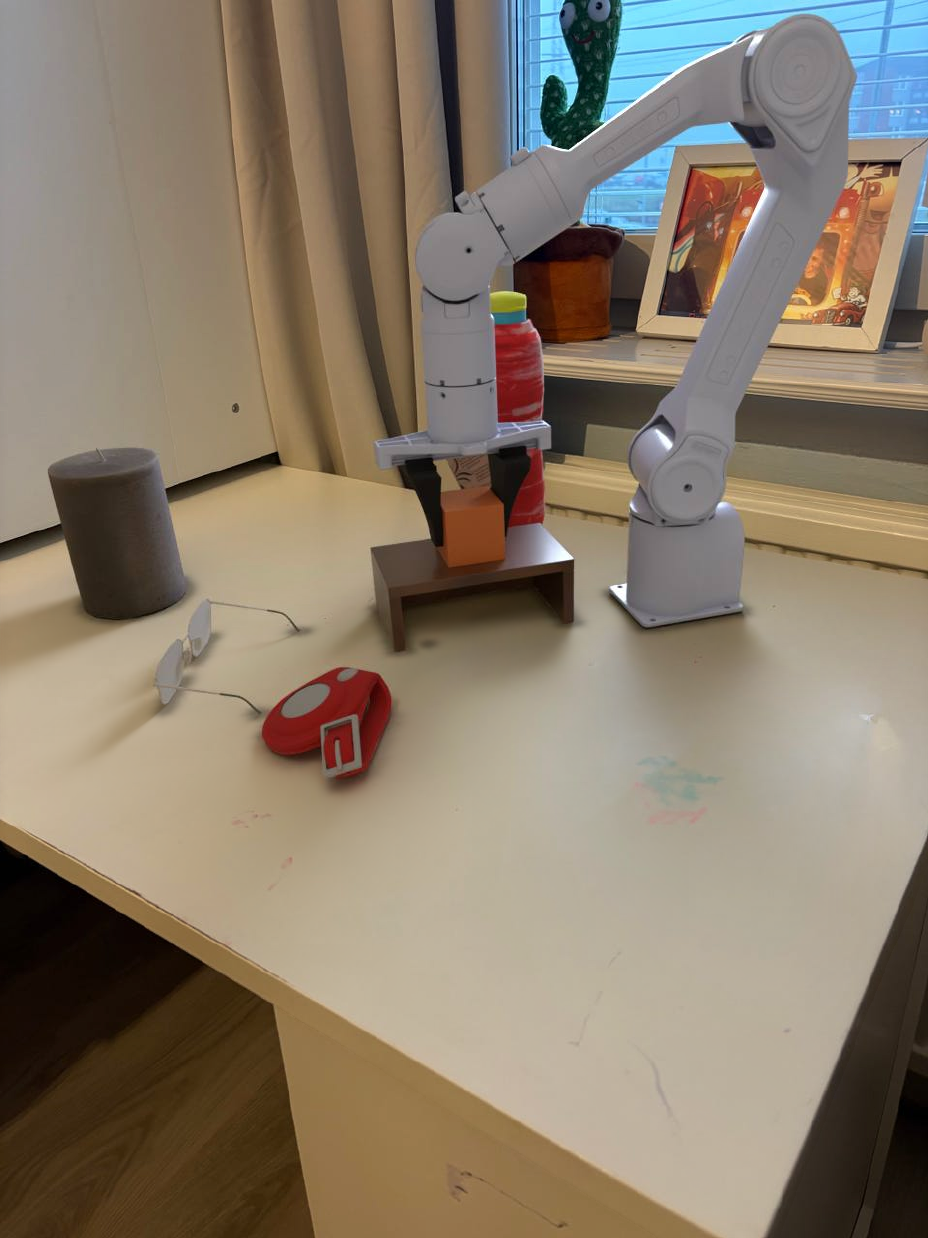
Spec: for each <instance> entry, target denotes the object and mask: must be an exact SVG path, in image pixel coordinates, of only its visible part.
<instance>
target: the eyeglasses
mask: <svg viewBox="0 0 928 1238" xmlns="http://www.w3.org/2000/svg"><path fill="white" fill-rule="evenodd" d="M211 605H221V606H229V607H236V608H243V609H250V610H258V611H265V612H269V613H275V614H280V615H282V616H284V617H285V619H287V620H288V621H289V623H290V624H291V625H292V627H293V628H294V629H295V631H296V632H297V633H299V632H301V629H300V628H298V626H297V625H296V624H295V623H294V621H293V620H292V619H291V618H290V617H289V615H287V614H286V613H284V612H282V611H279V610H274V609H265V608H259V607H253V606H245V605H240V604H234V603H229V602H221V601H213V600H210V599H209V598H205V599H204V600H203V601H202V602H201V603H200V604H199V605H198V607H197V608H196V609H195V611H194V612H193V614H192V615H191V616H190V619H189V623H188V626H187V634H186V635H185V637H184V638H183V640H182V639H181V638H177V639H175V640H174V641H173V642H172V643H171V644H170V645H169V647H168V648H167V649H166V651H165V652H164V654H163V655H162V657H161V659H160V661H159V663H158V665H157V667H156V671H155V678H154V679H153V680H152V685H153V687H155V688H157V692H158V695H159V698H160V699H159V700H160V701H161V704H163V705H167V704H168V703H169V702H171V699H172V698H173V697H174V695H175V693H176V692H177V690H179V691H186V692H195V693H202V694H209V695H217V696H223V697H229V698H237V699H240V700H242V701H244V702H245V703H247V705H248V706H249V707H250V708H252V709H253V710H254V711H255V712H256V714H259V715H261V714H262V712H261V711H260V710H258V708H256V706H255V705H253V704H252V703H251V702H250V701H249V700H248V699H247V698H245V697H243V696H241V695H237V694H232V693H224V692H215V691H208V690H202V689H197V688H189V687H183V686H180V684H181V683H182V680H183V674H184V661H185V658H186V665H187V666H189V665H191V662H192V655H193V656H194V657H195V658H196V657H198V656H199V655H201V653H202V652H203V651H204V649H205V648H206V645H207V644H208V642H209V640H210V637H211V633H212V609H211ZM187 639H188V641H189V647H190V648H187V649H186V650H184V643H185V642H186V640H187Z"/></svg>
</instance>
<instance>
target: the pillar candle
mask: <svg viewBox="0 0 928 1238" xmlns="http://www.w3.org/2000/svg"><path fill="white" fill-rule="evenodd" d="M47 475H48V480H49V484H50V487H51V491H52V495H53V499H54V503H55V507H56V510H57V514H58V518H59V523H60V525H61V529H62V532H63V536H64V540H65V545H66V549H67V551H68V555H69V559H70V563H71V566H72V570H73V574H74V578H75V582H76V585H77V587H78V592H79V595H80V598H81V602H82V605H83V608H84V610H85V612H86V613H87V614H89V615H91V616H94V617H97V618H103V619H110V620H111V619H114V620H119V619H122V620H123V619H124V620H126V619H127V620H128V619H133V618H136V617H141V616H145V615H149V614H152V613H155V612H158V611H161V610H163V609H165V608H168V607H170V606H173V605H174V604H175V603H177V602H178V601H179V600H180V599H182V597H183V596H184V595H185V594H186V591H187V584H186V578H185V574H184V570H183V564H182V560H181V556H180V552H179V547H178V543H177V536H176V533H175V528H174V523H173V519H172V514H171V509H170V505H169V500H168V496H167V492H166V486H165V483H164V479H163V473H162V469H161V463H160V459H159V452H158V451H156V450H154V449H148V448H144V447H133V446H132V447H112V448H102V449H99V447H96V448H95V449H91V450H88V451H84V452H82V453H77V454H74V455H71V456H67V457H65V458H62V459H59V460H58V461H56V462H54V463H52V464H50V465H49V466H48V468H47Z"/></svg>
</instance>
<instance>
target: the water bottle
mask: <svg viewBox="0 0 928 1238" xmlns="http://www.w3.org/2000/svg"><path fill="white" fill-rule="evenodd" d="M490 310H491V314H492V316H493V317H494V330H495V358H496V387H497V416H498V423H511V422H535V421H543V415H544V397H545V396H544V395H545V372H544V370H545V369H544V367H545V366H544V353H543V346H542V339H541V336H540V334H539V332H538V330H537V328H535V327H534V324H533V322H532V319H530V318H527V296H526V294H523V293H520V292H516V291H509V290H505V291H504V290H503V291H494V292H490ZM527 455H528V456H530V457H531V468H530V471H529V473H528V474H527V476H526V478H525V480H524V482H523V484H522V486H521V488H520V490H519V492H518V495H517V497H516V500H515V503H514V506H513V509H512V512H511V516H510V520H509V525H508V527H515V526H522V525H529V524H536V523H541V525H542V526H543V524H544V521H545V517H546V483H545V471H544V459H543V457H544V456H543V450H539V449H537V448H533V449H527ZM445 461H446V462H447V464H448V467H449V468H450V471H451V472H452V475H453V476H454V479H455V480H456V483H457V485H458V487H459V488H460V489H467V488H474V487H482V486H488V487H489V488H490V490H491V491H492V489H491V478H490V469H489V462H488V455H487V454H485V455H477V456H469V457H461V458H453V459H445Z"/></svg>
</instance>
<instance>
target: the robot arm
mask: <svg viewBox="0 0 928 1238" xmlns="http://www.w3.org/2000/svg"><path fill="white" fill-rule="evenodd" d="M857 79H858V74H857V72H856V70H855V66H854V64H853V61H852V60H851V57H850V55H849V52H848V50H847V47H846V45H845V42H844V40H843V38H842V36H841V34H840V32H839V31H838V29H837V28H836V27H835V25H833V24H832V23H831V21H829V20H827V19H826V18H824V17H822V16H820V15H817V14H811V13H798V14H793V15H791V16H788V17H786V18H783V19H781V20H780V21H777V22H776V23H774V25H772V26H770V27H767V28H765V29H756V30H752V31H749V32H747V33H744V34H743V35H741V36H740V37H738V38H737V39H735V40H734V41H732V43H731V44H729V45H726V46H724V47H721V48H719V49H716V50H715V51H712V52H710V53H708V54H705V55H704V56H702V57H699V58H698V59H696V60H694V61H692V62H690V63H688V64H686V65H684V66H682V67H680V68H679V69H677V70H676V71H674V72H673V73H671V74H670V75H669V76H667V77H666V78H665V79H664V80H662V81H660V82H659V83H658V84H657V85H655V86H654V87H652V89H650V90H648V91H647V92H646V93H644V94H643V95H642V96H640V97H639V98H637V99H636V100H635V101H633V102H632V103H631V104H629V105H628V106H626V107H625V108H624V109H623V110H621V111H620V112H618V113H616V115H615V116H613V117H612V118H610V119H609V120H607V121H606V122H605V123H604V124H602V125H601V126H599V127H598V128H597V129H595V130H594V131H593V132H591V133H590V134H588V135H587V136H586V137H584V138H583V139H582V140H581V141H579V142H577V143H576V144H575V145H574V146H572V147H571V148H570V149H563V148H559V147H556V146H552V145H549V144H541V145H539V146H538V147H536V148H535V149H533V151H531V152H530V151H529V149H528V147H526V146H523V147H521V148H520V149H518V150H517V151H516V152H514V153H513V154H511V155H510V157H509V159H510V161H511V163H512V165H511V166H509V167H508V168H506V169H505V170H504V171H502V172H501V173H500V174H498V175H497V176H495V177H494V178H492V179H491V180H489V181H488V182H487V183H485V184H484V185H482V186H481V187H479V188H478V189H477V190H475V191H473V192H472V193H470V194H469V193H468V192H467V190H463V191H462V192H460V193H459V194H458V195H456V196H454V201H455V203H456V206H457V207H458V208H459V210H460V212H445V213H441V214H439V215H438V216H437V215H436V217H434V218H432V219H431V220H429V221H428V223H427V224H426V225H424V227H423V229H422V230H421V233H420V235H419V236H418V240H417V243H416V248H415V253H414V263H415V269H416V273H417V276H418V278H419V280H420V282H421V283H422V286H421V293H420V295H419V304H420V311H421V313H423V315H422V318H421V319H420V324H419V325H420V337H421V351H422V352H421V353H422V367H423V368H422V369H423V380H424V394H425V410H426V425H427V429H424V430H421V431H417V432H412V433H408V434H404V435H399V436H395V437H390V438H385V439H377V440H373V450H374V461H375V465H376V468H378V470H379V471H385V470H392V469H393V467H395V466H396V467H397V466H400V467H401V468H402V470H403V471H404V473H405V475H406V476H407V478H408V480H409V483H410V484H411V486H412V488H413V490H414V492H415V494H416V496H417V499H418V501H419V503H420V505H421V508H422V511H423V514H424V517H425V519H426V523H427V527H428V531H429V536H430V539H431V540H432V542H433V543H434V545H435V547H442V546H443V525H442V517H441V492H442V476H441V475H440V473H438V467H437V465H436V464H435V461H443V460H445V461H446V459H453V458H461V457H469V456H477V455H485V454H487V455H488V462H489V469H490V478H491V489H492V492H493V493H494V494H495V495H496V496H497V497H498V499H499V500H500V501H501V502H502V503H503V504H504V533H505V537H507V531H508V525H509V520H510V516H511V512H512V509H513V506H514V503H515V500H516V497H517V495H518V492H519V490H520V488H521V486H522V484H523V482H524V480H525V478H526V476H527V474H528V473H529V471H530V468H531V457H530V456H528V455H527V449H533V448H537V449H539V450H542V451H545V450H551V449H552V426H551V425H550V424H548V423H547V422H545V420H542V421H535V422H511V423H498V416H497V387H496V358H495V330H494V317H493V316H492V314H491V310H490V293H491V286H490V285H491V283H492V282H493V279H494V277H495V274H496V270H497V267H501V266H502V267H503V266H504V267H511V266H513V265H515V264H516V263H518V262H519V261H520V260H522V259H523V258H526V257H527V256H528V255H530V254H531V253H532V252H534V251H536V250H537V249H538V248H540V247H541V246H543V245H544V244H545V243H547V242H549V241H550V240H552V239H553V238H555V237H556V236H558V235H559V234H561V233H563V232H564V231H566V230H567V229H569V228H570V227H572V226H573V225H575V224H576V223H577V222H579V221H580V220H581V219H582V218H583V217H584V212H585V208H586V205H587V200H588V197H589V195H590V192H591V191H592V190H593V189H595V188H596V187H598V186H600V185H601V184H603V183H604V182H606V181H608V180H609V179H611V178H612V177H614V176H615V175H617V174H619V173H621V172H622V171H624V170H625V169H627V168H629V167H630V166H632V165H633V164H635V163H636V162H638V161H639V160H641V159H643V158H644V157H646V156H648V155H649V154H650V153H652V152H653V151H656V150H658V148H660V147H662V146H663V145H665V144H666V143H668V142H670V141H671V140H673V139H675V138H676V137H678V136H679V135H681V134H682V133H684V132H685V131H688V130H689V129H691V128H694V127H701V126H702V127H703V126H710V125H711V126H712V125H720V124H728V125H730V126H731V128H732V129H733V130H734V131H735V132H736V133H737V134H738V135H739V136H740V137H741V138H742V140H744V142H745V143H746V144H747V145H748V146H749V149H750V152H751V154H752V157H753V160H754V162H755V164H756V166H757V170H758V171H759V174H760V177H761V179H762V182H763V184H764V185H763V186H764V188H763V191H762V194H761V196H760V198H759V199H758V202H757V205H756V207H755V209H754V211H753V213H752V215H751V218H750V220H749V223H748V225H747V227H746V229H745V232H744V233H743V235H742V238H741V240H740V243H739V244H738V247H737V249H736V252H735V254H734V256H733V259H732V261H731V263H730V265H729V268H728V270H727V272H726V275H725V276H724V279H723V281H722V283H721V285H720V288H719V290H718V292H717V294H716V297H715V299H714V301H713V303H712V305H711V308H710V310H709V312H708V315H707V317H706V319H705V321H704V323H703V326H702V328H701V330H700V332H699V334H698V337H697V338H696V341H695V344H694V346H693V348H692V351H691V352H690V355H689V357H688V359H687V361H686V364H685V365H684V369H683V371H682V373H681V375H680V376H679V379H678V382H677V384H676V386H674V388H673V389H672V390H671V391H670V392H669V393H668V394H667V395H666V396H664V397H663V398H662V399H661V400H660V402H659V404H658V406H657V408H656V410H655V413H654V414H653V416H652V417H651V419H650V420H649V421H647V423H645V425H644V426H642V427H641V428H640V429H639V430H638V431H637V432H636V433H635V435H634V436H633V437H632V439H631V441H630V443H629V445H628V449H627V455H626V460H627V466H628V470H629V472H630V474H631V476H632V477H633V478H634V480H635V481H637V482H638V484H637V488H636V490H635V492H634V494H633V496H632V497H631V499H630V501H629V506H628V510H629V511H628V533H627V557H626V558H627V561H626V583H621V584H615V585H611V586H609V594H611V595H612V596H613V597H614V598H615V599H616V600H617V602H619V603H620V604H621V606H623V608H624V609H625V610H626V611H627V612H628V614H630V615H631V616H632V617H633V618H634V619H635V620H636V621H637V622H638V623H639V625H641V627H643V628H654V627H659V626H665V625H671V624H676V623H683V622H688V621H694V620H699V619H706V618H711V617H716V616H723V615H728V614H734V613H739V612H742V611H743V610H744V605H743V604H742V603H741V602H740V595H741V586H742V574H743V565H744V556H745V545H746V544H745V543H746V540H745V530H744V529H745V528H744V524H743V521H742V518H741V516H740V514H739V512H738V511H737V509H736V508H735V507H734V506H733V505H732V504H731V503H729V502H727V501H722V500H723V498H724V495H725V493H726V488H727V468H728V463H729V461H730V458H731V455H732V454H733V452H734V449H735V445H736V414H737V411H738V409H739V407H740V405H741V403H742V401H743V399H744V397H745V395H746V393H747V390H748V388H749V386H750V384H751V382H752V380H753V379H754V378H753V377H754V376H755V374H756V372H757V369H758V368H759V366H760V363H761V362H762V359H763V357H764V355H765V353H766V351H767V349H768V347H769V345H770V343H771V340H772V338H773V337H774V334H775V332H776V330H777V329H778V326H779V324H780V323H781V321H782V318H783V316H784V313H785V312H786V310H787V307H788V305H789V303H790V301H791V299H792V297H793V295H794V292H795V290H796V288H797V287H798V285H799V282H800V281H801V278H802V276H803V274H804V272H805V270H806V268H807V266H808V264H809V262H810V260H811V257H812V256H813V254H814V251H815V249H816V247H817V245H818V243H819V242H820V240H821V237H822V234H823V233H824V230H825V229H826V226H827V224H828V222H829V221H830V218H831V216H832V214H833V212H834V210H835V208H836V205H837V204H838V201H839V200H840V197H841V196H842V193H843V192H844V188H845V186H846V183H847V179H848V177H849V176H848V175H849V130H850V129H849V126H850V122H849V121H850V120H849V119H850V101H851V97H852V94H853V91H854V89H855V86H856V83H857Z"/></svg>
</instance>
